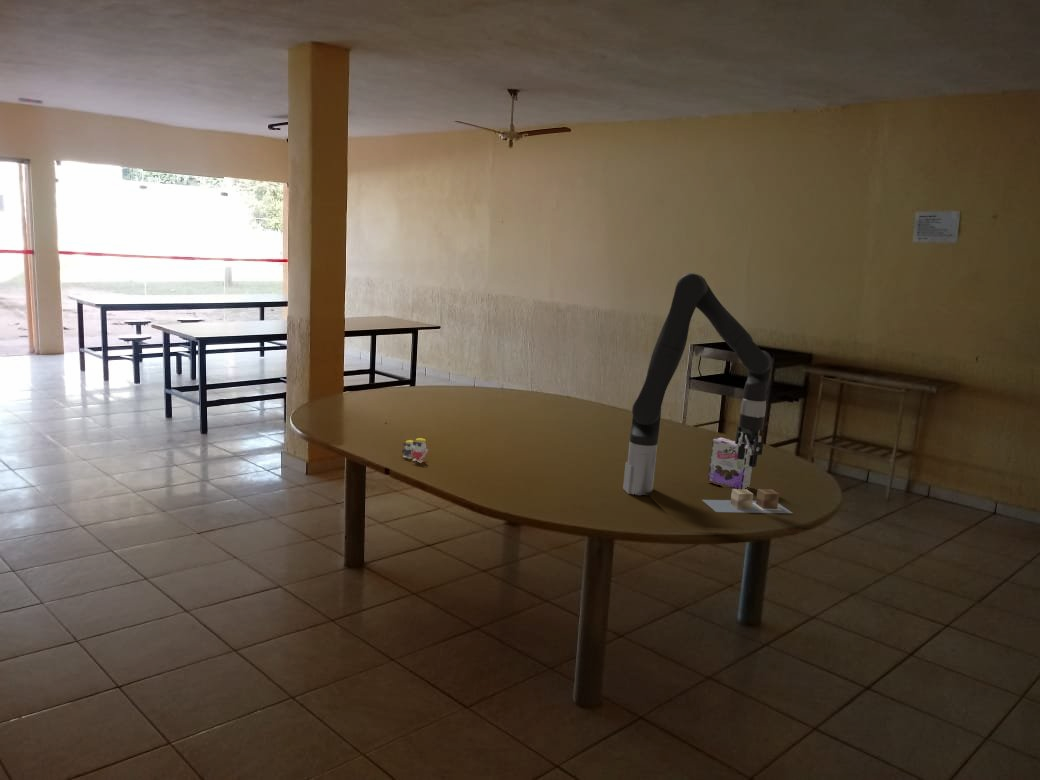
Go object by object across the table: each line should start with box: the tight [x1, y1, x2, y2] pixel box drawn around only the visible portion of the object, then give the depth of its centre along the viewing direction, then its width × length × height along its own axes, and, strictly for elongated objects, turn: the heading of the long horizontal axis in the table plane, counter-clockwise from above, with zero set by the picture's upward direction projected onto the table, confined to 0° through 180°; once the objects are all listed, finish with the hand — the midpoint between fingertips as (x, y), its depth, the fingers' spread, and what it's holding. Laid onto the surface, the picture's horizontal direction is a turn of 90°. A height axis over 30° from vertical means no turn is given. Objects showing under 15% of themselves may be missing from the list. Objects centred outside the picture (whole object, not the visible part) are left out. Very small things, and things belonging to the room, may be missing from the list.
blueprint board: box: [701, 499, 793, 514], centre depth 256 cm, size 26×12×1 cm, turn 100°
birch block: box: [730, 488, 754, 509], centre depth 255 cm, size 5×5×5 cm
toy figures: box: [401, 437, 429, 464], centre depth 286 cm, size 12×4×8 cm, turn 46°
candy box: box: [707, 437, 753, 489], centre depth 280 cm, size 14×6×16 cm, turn 45°
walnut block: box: [755, 488, 780, 509], centre depth 257 cm, size 5×5×5 cm
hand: (746, 462), depth 253 cm, fingers open, 8 cm apart
